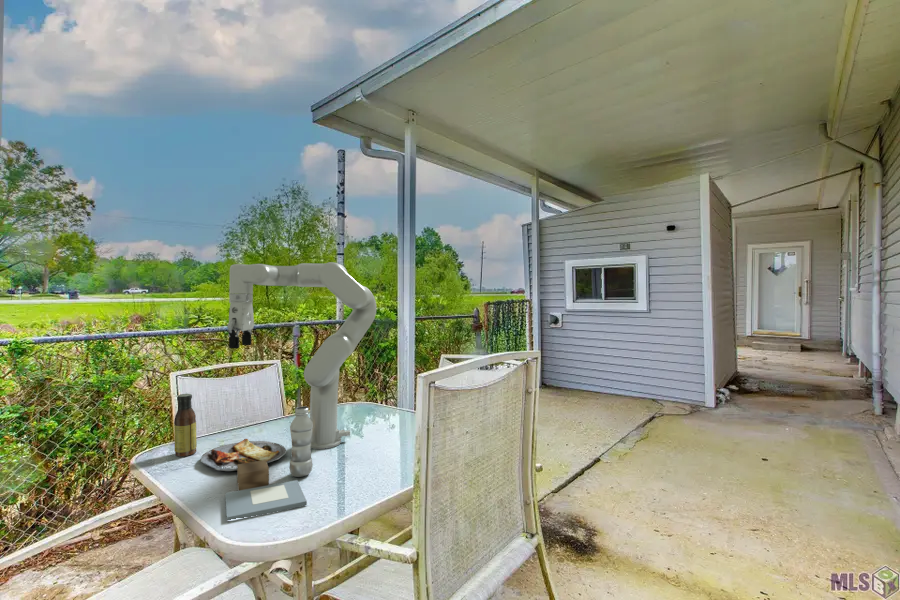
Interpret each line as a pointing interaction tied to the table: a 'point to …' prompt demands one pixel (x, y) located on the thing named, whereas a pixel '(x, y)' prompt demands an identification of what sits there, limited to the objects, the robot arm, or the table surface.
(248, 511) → the board
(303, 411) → the plastic bottle
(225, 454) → the food plate
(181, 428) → the sauce bottle
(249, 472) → the block
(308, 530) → the table surface
